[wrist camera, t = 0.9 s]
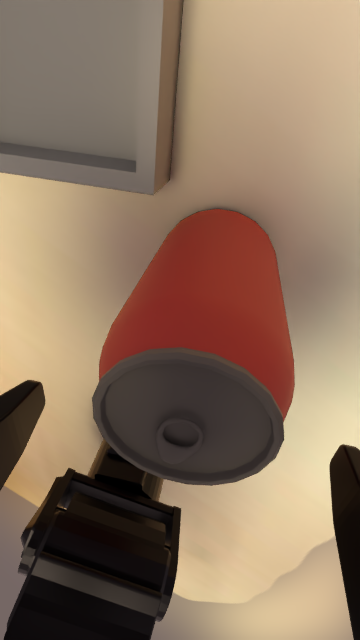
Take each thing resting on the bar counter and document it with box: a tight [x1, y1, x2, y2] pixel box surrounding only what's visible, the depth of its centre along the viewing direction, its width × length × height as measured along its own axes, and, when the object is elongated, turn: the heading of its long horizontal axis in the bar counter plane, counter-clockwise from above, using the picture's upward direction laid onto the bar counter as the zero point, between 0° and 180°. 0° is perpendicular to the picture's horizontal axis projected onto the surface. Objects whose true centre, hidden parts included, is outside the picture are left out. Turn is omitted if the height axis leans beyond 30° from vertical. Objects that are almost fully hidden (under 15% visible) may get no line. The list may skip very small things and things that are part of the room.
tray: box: [0, 0, 183, 195], centre depth 13 cm, size 12×12×4 cm
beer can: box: [92, 209, 295, 486], centre depth 14 cm, size 7×7×12 cm
